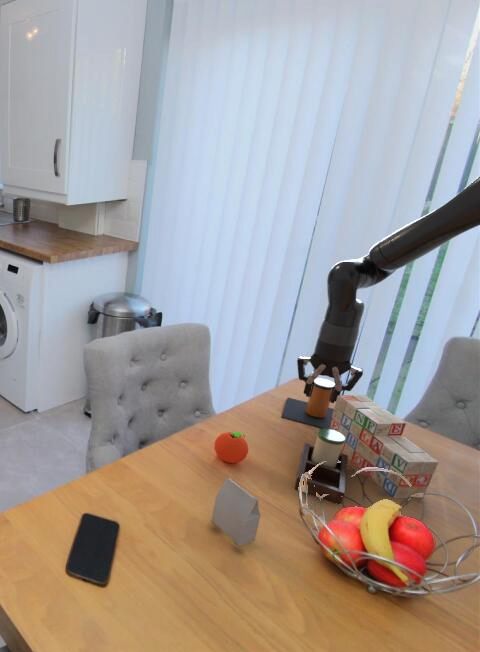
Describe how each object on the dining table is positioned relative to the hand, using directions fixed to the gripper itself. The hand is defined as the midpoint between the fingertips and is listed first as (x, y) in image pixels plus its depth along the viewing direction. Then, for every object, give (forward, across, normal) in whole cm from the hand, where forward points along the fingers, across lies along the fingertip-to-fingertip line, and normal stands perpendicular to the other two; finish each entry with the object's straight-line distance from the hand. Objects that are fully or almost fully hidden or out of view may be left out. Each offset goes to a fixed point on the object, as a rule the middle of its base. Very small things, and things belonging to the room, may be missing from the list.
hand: (320, 398), depth 125 cm
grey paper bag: (+6, -9, -55) cm, 56 cm away
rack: (+6, +3, -28) cm, 29 cm away
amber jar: (+4, 0, 0) cm, 4 cm away
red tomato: (+6, -14, -32) cm, 35 cm away
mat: (+6, 0, 0) cm, 6 cm away
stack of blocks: (+6, +12, -16) cm, 21 cm away
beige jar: (+5, +3, -24) cm, 25 cm away
